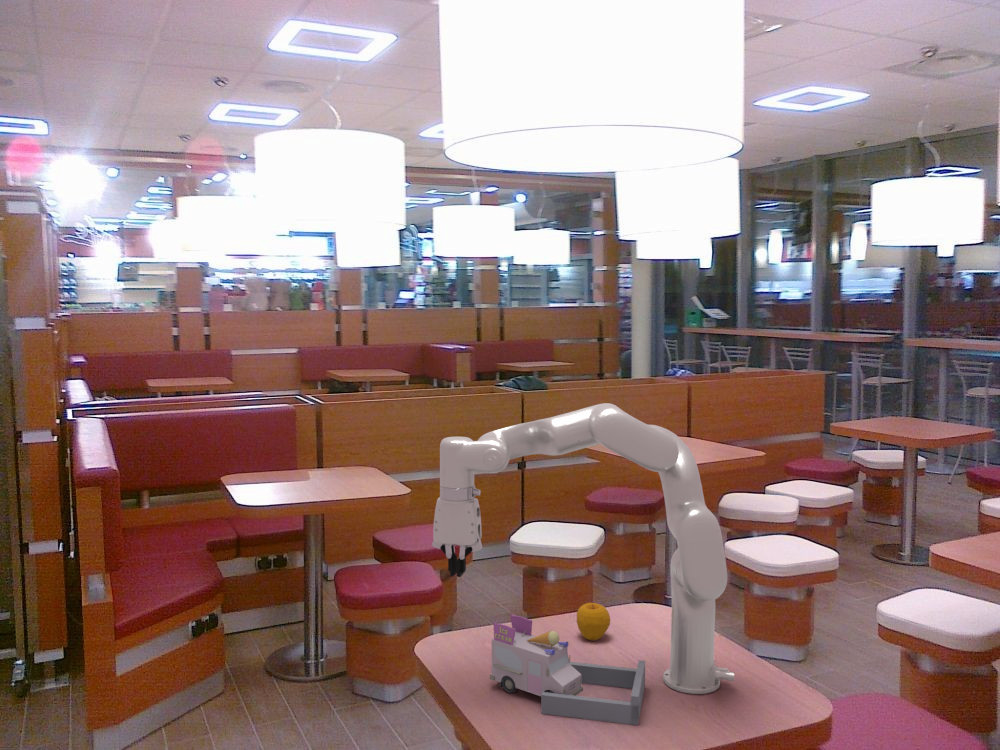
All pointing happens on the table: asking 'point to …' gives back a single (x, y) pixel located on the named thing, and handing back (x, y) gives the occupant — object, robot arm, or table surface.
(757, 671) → the table surface
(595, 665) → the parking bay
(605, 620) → the apple
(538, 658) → the toy vehicle
